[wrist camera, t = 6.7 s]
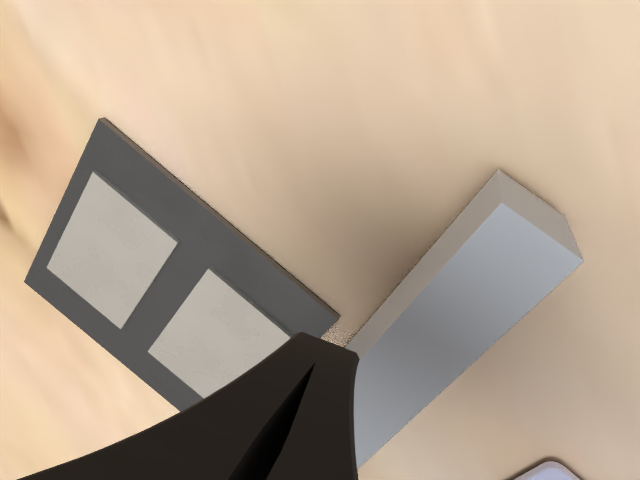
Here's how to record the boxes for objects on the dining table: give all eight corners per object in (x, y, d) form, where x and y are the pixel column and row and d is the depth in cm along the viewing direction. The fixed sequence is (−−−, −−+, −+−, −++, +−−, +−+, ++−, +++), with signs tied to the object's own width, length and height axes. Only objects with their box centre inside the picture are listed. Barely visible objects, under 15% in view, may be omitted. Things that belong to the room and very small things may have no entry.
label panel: (339, 316, 19) (336, 322, 19) (218, 436, 24) (213, 443, 24) (104, 117, 19) (95, 119, 19) (29, 278, 24) (20, 283, 23)
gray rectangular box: (349, 432, 20) (327, 496, 17) (301, 397, 20) (272, 457, 18) (564, 215, 15) (584, 260, 12) (498, 168, 15) (501, 202, 12)
